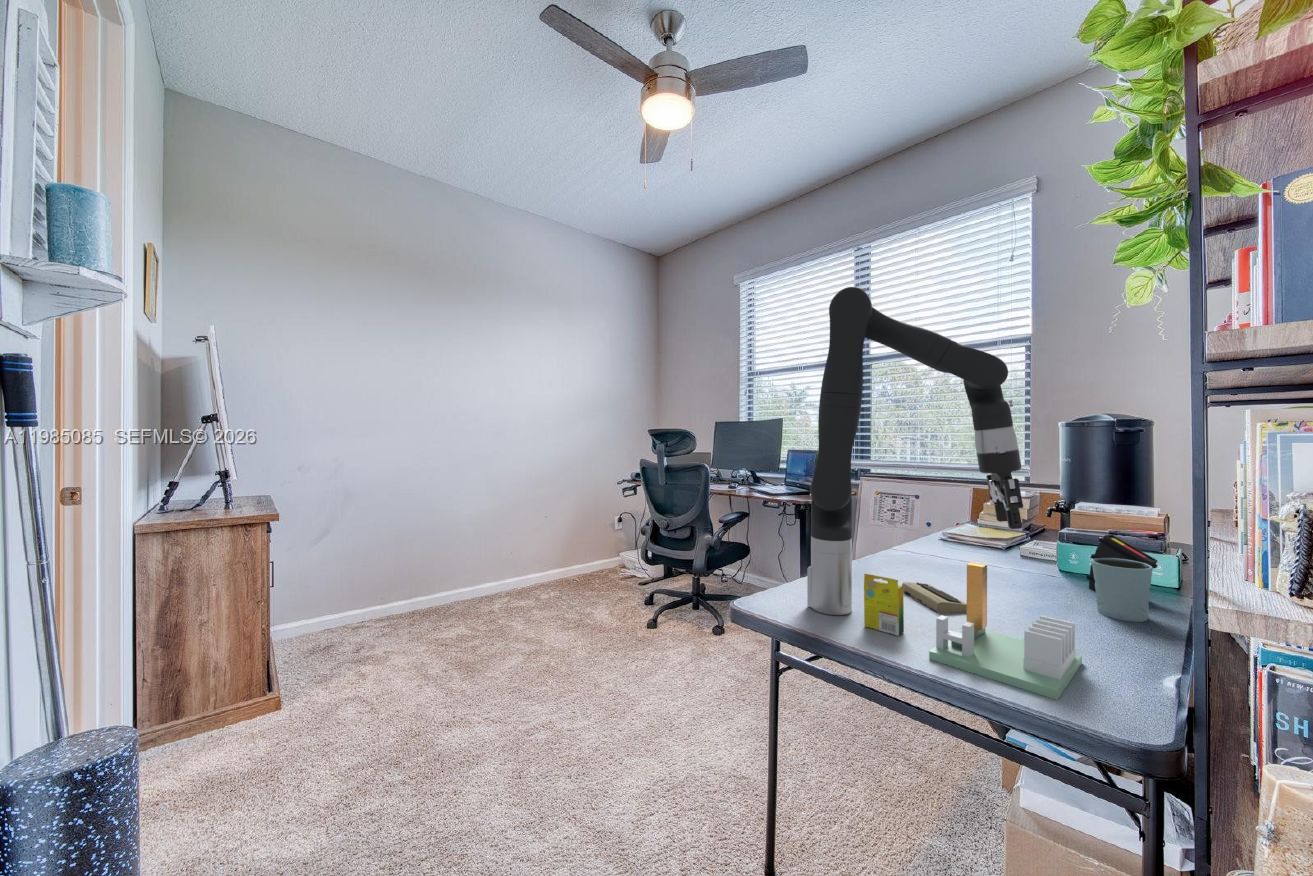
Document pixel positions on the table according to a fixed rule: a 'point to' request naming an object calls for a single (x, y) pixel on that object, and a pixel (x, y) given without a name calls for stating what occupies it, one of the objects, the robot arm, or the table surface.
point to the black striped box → (1118, 554)
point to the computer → (934, 598)
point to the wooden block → (976, 599)
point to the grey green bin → (1122, 588)
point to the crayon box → (883, 605)
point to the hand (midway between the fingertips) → (1009, 524)
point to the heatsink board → (1014, 654)
